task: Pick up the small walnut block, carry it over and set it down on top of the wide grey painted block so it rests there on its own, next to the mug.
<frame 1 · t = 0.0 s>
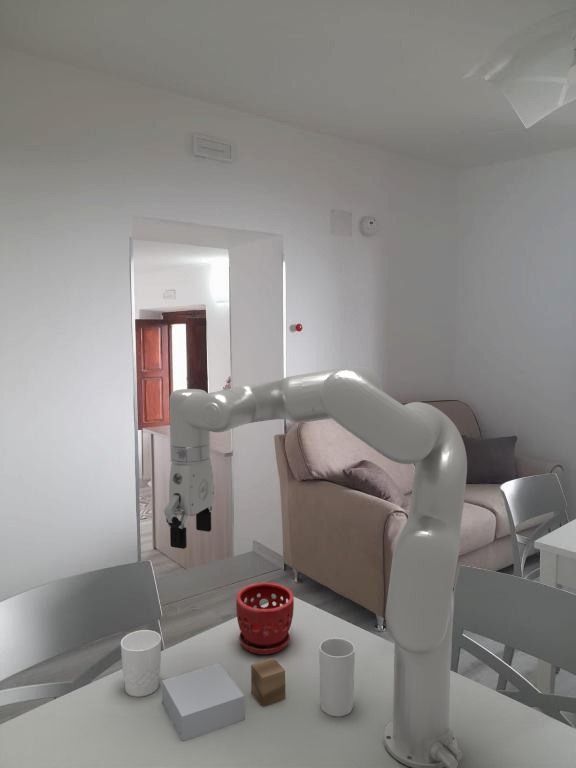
hand: (191, 538, 115), 31 cm above the table, tool pointing down, fingers open, 9 cm apart
white cup: (142, 687, 119), on the table
mug: (337, 701, 115), on the table
grey block: (202, 712, 112), on the table
plant pot: (265, 645, 135), on the table
walnut block: (268, 696, 116), on the table
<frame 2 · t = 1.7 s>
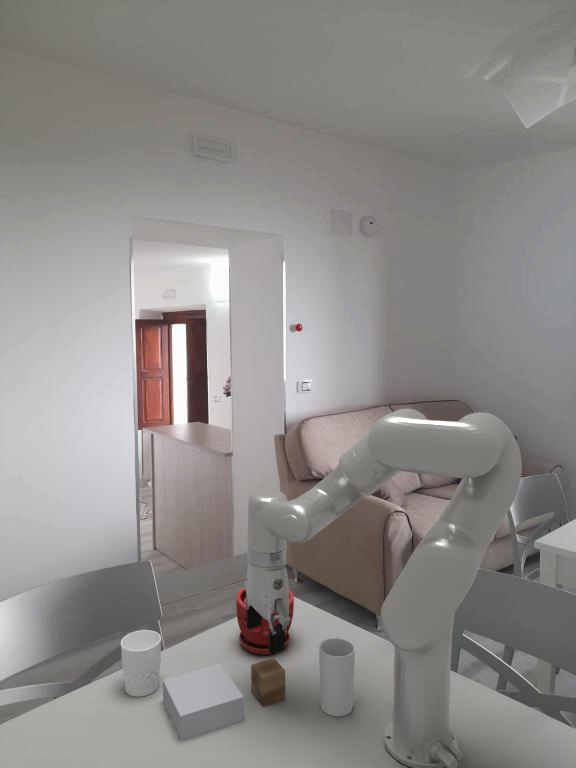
hand: (264, 638, 115), 12 cm above the table, tool pointing down, fingers open, 9 cm apart
nothing on the table moved.
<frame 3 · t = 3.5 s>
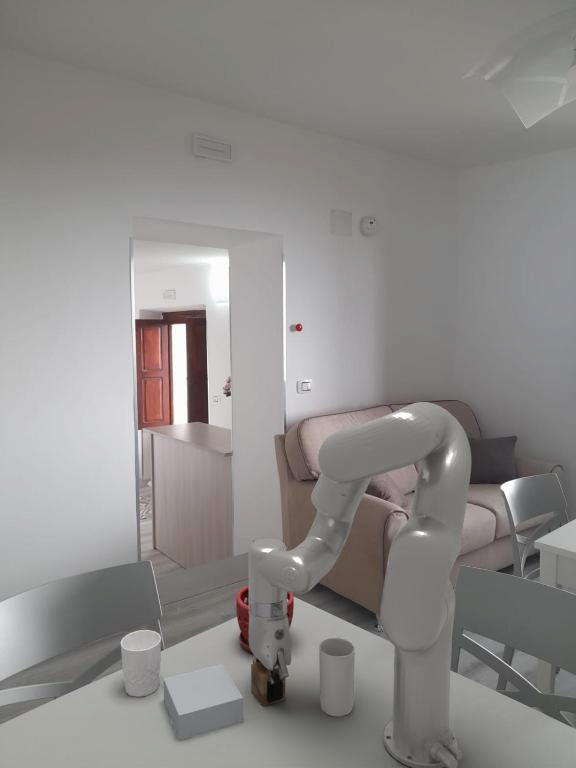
hand: (268, 691, 116), 1 cm above the table, tool pointing down, fingers closed on walnut block, 5 cm apart
walnut block: (268, 695, 116), on the table, touching gripper
everything else where it was.
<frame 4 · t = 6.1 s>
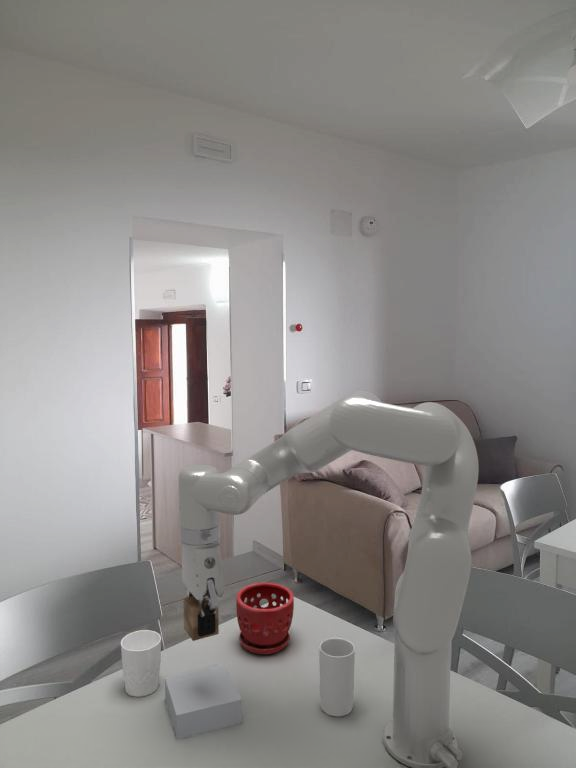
hand: (201, 626, 110), 17 cm above the table, tool pointing down, fingers closed on walnut block, 5 cm apart
walnut block: (201, 631, 110), point 16 cm above the table, touching gripper
everything else where it was.
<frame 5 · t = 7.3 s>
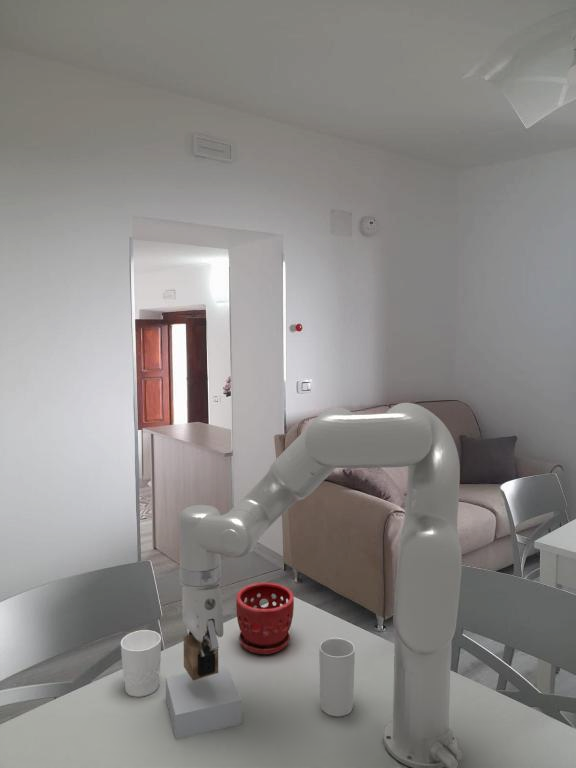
hand: (200, 664, 111), 9 cm above the table, tool pointing down, fingers closed on walnut block, 5 cm apart
walnut block: (200, 669, 111), point 8 cm above the table, touching gripper
everything else where it was.
when the fingers open (7 cm above the table, at t = 8.6 s): walnut block drops 1 cm, resting on grey block.
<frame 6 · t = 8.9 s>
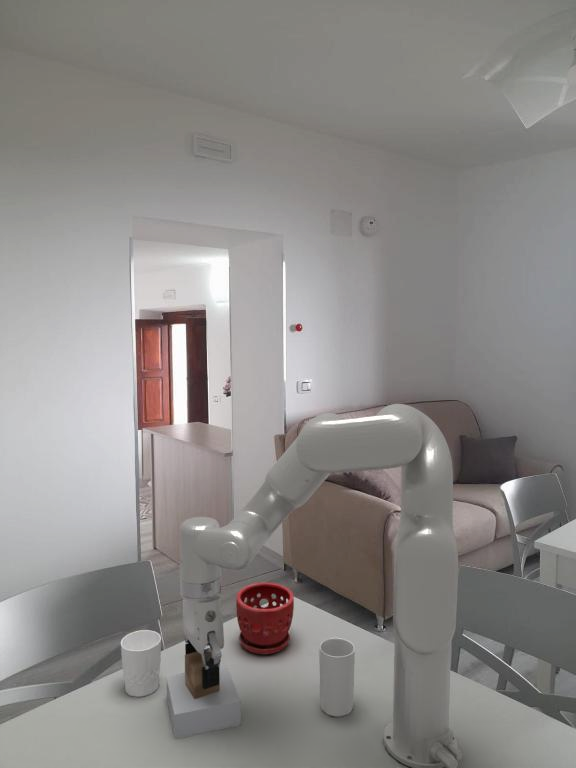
hand: (202, 673, 111), 8 cm above the table, tool pointing down, fingers open, 8 cm apart
grey block: (202, 713, 112), on the table, touching walnut block
walnut block: (202, 687, 111), point 5 cm above the table, touching grey block
everything else where it was.
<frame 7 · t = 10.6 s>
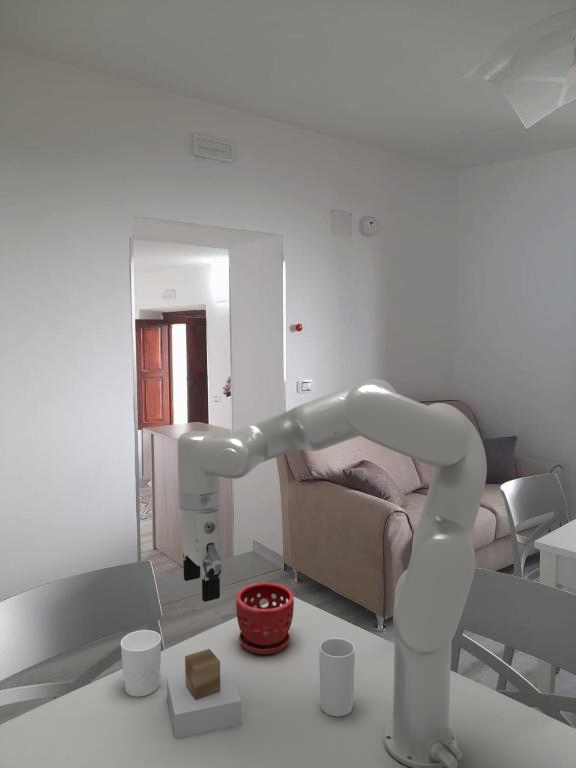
hand: (201, 588, 109), 24 cm above the table, tool pointing down, fingers open, 9 cm apart
nothing on the table moved.
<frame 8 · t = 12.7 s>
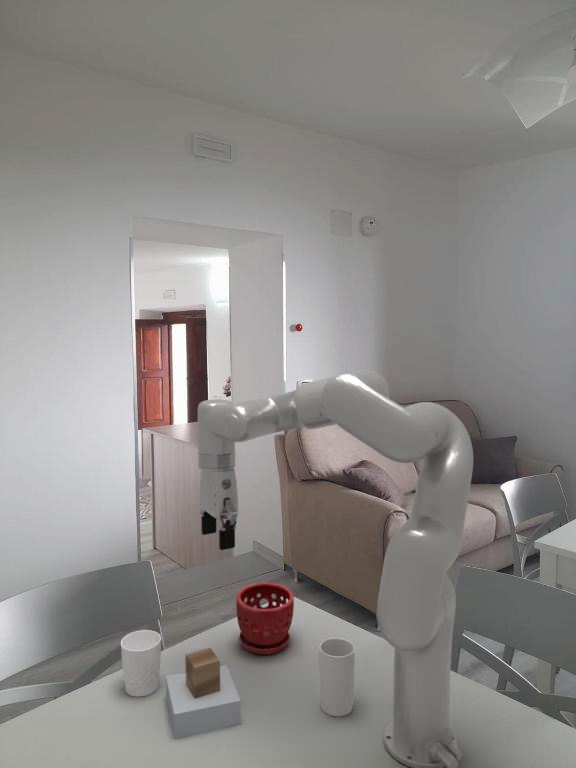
hand: (217, 540, 122), 28 cm above the table, tool pointing down, fingers open, 9 cm apart
grey block: (202, 712, 112), on the table
walnut block: (202, 687, 111), point 5 cm above the table
everything else where it was.
at the end: walnut block inside the target area on the grey block (0.2 cm from its centre), point 5.0 cm above the grey block's base; walnut block tilted 0°; the gripper is holding nothing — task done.
